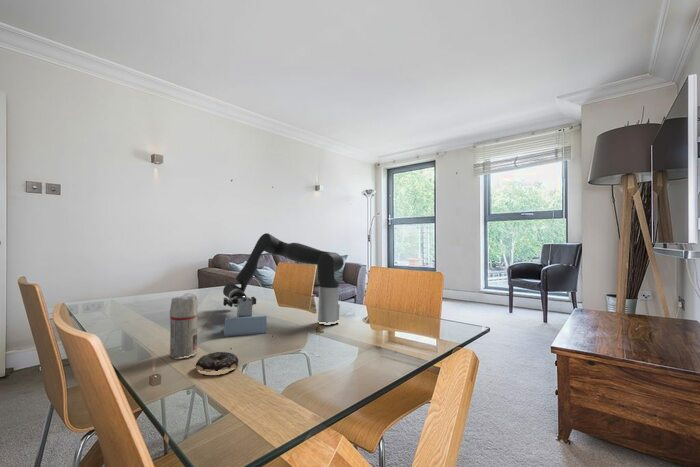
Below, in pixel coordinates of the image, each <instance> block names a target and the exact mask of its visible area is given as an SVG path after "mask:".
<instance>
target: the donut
mask: <svg viewBox="0 0 700 467" xmlns="http://www.w3.org/2000/svg"><path fill="white" fill-rule="evenodd" d="M194 367H196V368H195V369H197V370H200V371H206V372H211V371H218V370H225V369H231V368H236V369H237V368H238V367H239V358H238V355H236V354H234V353H233V352H232V353H231V352H227V351H217V352H211V353H208V354H205V355H202V356H200V357H199V359H198V360H197V361H196V363H195V366H194ZM197 370H196V371H197Z"/></svg>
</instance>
